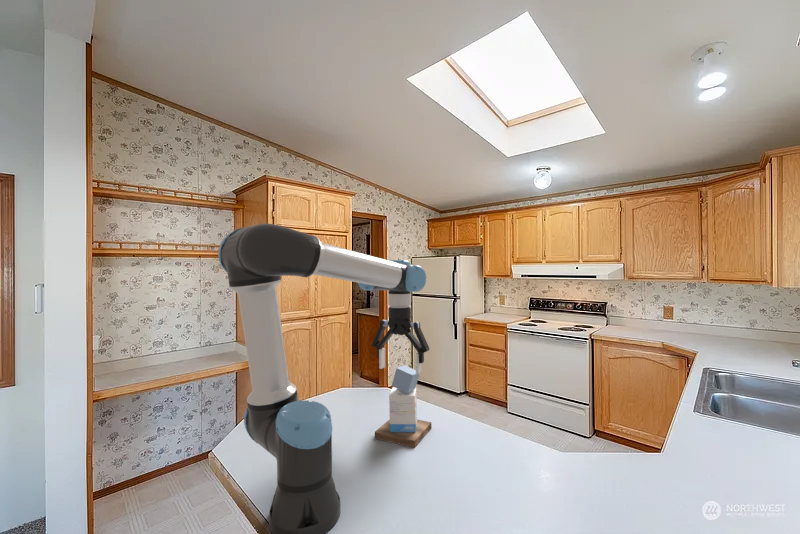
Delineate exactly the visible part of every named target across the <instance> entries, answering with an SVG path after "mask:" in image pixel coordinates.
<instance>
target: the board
mask: <svg viewBox="0 0 800 534" xmlns="http://www.w3.org/2000/svg"><path fill="white" fill-rule="evenodd" d="M431 429H432V421H426V420H422V419H417V425H416V432H390V418H389V419H388V420H387V421H386V422H385V423H384V424H381V426H380V427H379V428H378V429H376V430H375V431H374V439H377V440H380V441H386V442H389V443H395V444H398V445H403V446H407V447H410V448H416V447H417V446H418V445H419V443H420V442H421V441H422V440H423V439H424V438H425V437H426V435H427V434H428V433H429V432H430V431H431Z"/></svg>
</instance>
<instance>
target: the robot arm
mask: <svg viewBox="0 0 800 534" xmlns="http://www.w3.org/2000/svg"><path fill="white" fill-rule="evenodd" d="M217 255H218V256H217V257H218V261H219V264H220V266H221V268H222V269H223V270H224V271H225V272H226V275H227V280H228V284H229V285H228V286H229V288H230V289H231V290H232V291H234V292H235V293H236V294H237V297H238V303H239V312H240V317H241V323H242V330H243V331H242V332H243V336H244V343H245V349H246V357H247V363H248V370H249V377H250V383H251V392H250V393H249V394H248V396H247V398H246V402H247V403H246V404H247V408H246V409H245V411H244V414H243V415H244V416H243V424H244V428H245V431H246V432H247V435H248V436H249V437H250V438H251V440H252V441H253V442H255V444H257V445H259V446H260V447H262V448H263V449H264V450H265V451H267V452H268V453H269V454H270V455H271V456H273V457H274V458H275V460H276V475H277V476H276V484H277V485H276V488H275V491H274V495H273V498H272V501H271V505H270V507H269V513H268V527H269V531H270V532H271V534H326V533H327V532H328V531H330V530H331V529H332V528H333V527H334V526H335V525H336V523H337V522H338V520H339V519H340V516H341V499H340V494H339V492H338V491H337V488H336V485H335V481H334V478H333V445H332V444H333V443H332V442H333V439H332V438H333V437H332V436H333V434H332V433H333V423H332V415H331V412H330V410H329V408H328V407H327V406H325V405H324V404H322V403H321V402H318V401H315V400H313V401H309V400H304V399H303V400H299V395H298V390H297V385H296V384H294V383H293V382H291V381H290V378H289V371H288V364H287V363H288V361H287V357H286V350H285V341H284V335H283V334H284V333H283V329H282V321H281V314H280V313H281V312H280V306H279V300H278V299H279V297H278V292H277V287H278V286H279V285H280V283H281V282H282V276H289V277H292V276H293V277H300V278H301V277H302V278H309V277H312V276H313V275H315V276H321V277H327V278H331V279H336V280H341V281H348V282H353V283H357V284H358V286H359V288H360V289H361V290H363V291H372V292H373V291H388V292H387V301H388V302H387V303H388V304H387V305H388V306H389V307H388V309H387V310H388V313H387V315H388V320H387V319H381V320H380V321H379V327H378V330H377V331H376V334H375V336H374V339H373V341H372V343H371V346H372V347H375V348H376V357H377V359H378V364H379V366H378V369H380V370H382V369H384V368H386V348H385V347H384V346H385V345H386V344H387V342H388V341H389V340H390V338H392V336H393V335H395V336H396V335H400V336H404V337H406V338H407V339H408V341H409V342H410V344H411V345H412V346H413V348H414V349H415V350H416V351H417V353H415V370H416V374H419V373H420V374H421V373H422V364H423V363H424V362H425V359H424V358H425V353H427V352H429V351H430V347H429V346H430V345H429V344H428V342H427V339H426V338H425V335H424V333H423V331H422V329H421V323H420V321H415V322H412V320H411V318H412V308H411V307H410V306H411V305H412V304H411V303H412V299H411V297H412V295H411V293H414V292H415V293H418V292H420V291H422V290H423V289H425V286H426V283H427V282H426V281H427V273H426V271H425V269H424V268H423V267H422V266H420V265H418V264H416V265H415V264H411V263H410V261H409V260H407V259H390V260H388V259H385V258H381V257H377V256H373V255H370V254H366V253H362V252H359V251H354V250H351V249H348V248H347V249H346V248H343V247H341V246H336V245H332V244H330V243H329V244H328V243H325V242H322V241H320V238H318V236H316V235H313V234H308V233H306V232H302V231H300V230H296V229H293V228H290V227H286V226H282V225H279V224H272V223H260V224H255V225H251V226H245V227H241V228H240V227H239V228H237V229H235V230H233V231H231V232H230V233H228V234H227V235H226V236H225V237H224V238H223V239H222V241H221V242H220V244H219V247H218V251H217ZM387 327H389V328H388V331H386V334H385V335H384V333H385V330H386V328H387ZM411 327H412V329H413V330H414V333H415V335H416V336H415V335H414V333H413V331H412V330H411ZM383 335H384V336H383ZM420 374H419V375H420Z"/></svg>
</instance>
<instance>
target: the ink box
mask: <svg viewBox="0 0 800 534" xmlns="http://www.w3.org/2000/svg"><path fill="white" fill-rule="evenodd" d="M388 404H389V409H388V410H389V419H390V432H416V425H417V420H418V411H417V410H418V409H417V407H418V405H417V387H416V388H415V389H414V390H413V391H411V392H409V393H406V392H404V391H402V390H400V389H398V388H395V387H393V386H392V388H391V390H390V392H389V396H388Z"/></svg>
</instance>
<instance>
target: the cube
mask: <svg viewBox="0 0 800 534" xmlns="http://www.w3.org/2000/svg"><path fill="white" fill-rule="evenodd" d="M420 374H421V373H419V374H416V369H414V368H411V367H409V366H408V365H405V364H404V365H401V366H398V367H396V370H395V372H394V376H393V380H392V384H391V387H392V388H393V387H395V388H398V389H400V390H402V391H404V392H406V393H409V392H411V391H413V390H414V389H415V388H416V389H417V383H418V381H419V376H420Z"/></svg>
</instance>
